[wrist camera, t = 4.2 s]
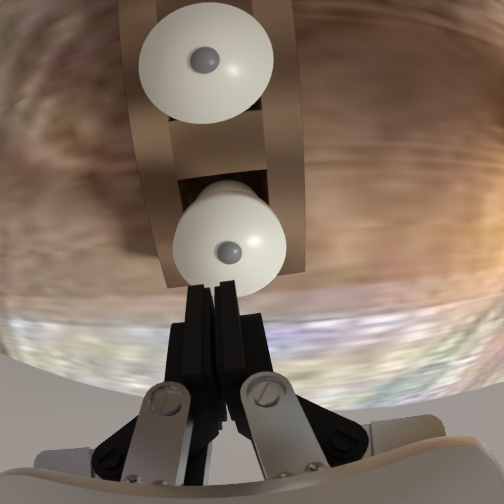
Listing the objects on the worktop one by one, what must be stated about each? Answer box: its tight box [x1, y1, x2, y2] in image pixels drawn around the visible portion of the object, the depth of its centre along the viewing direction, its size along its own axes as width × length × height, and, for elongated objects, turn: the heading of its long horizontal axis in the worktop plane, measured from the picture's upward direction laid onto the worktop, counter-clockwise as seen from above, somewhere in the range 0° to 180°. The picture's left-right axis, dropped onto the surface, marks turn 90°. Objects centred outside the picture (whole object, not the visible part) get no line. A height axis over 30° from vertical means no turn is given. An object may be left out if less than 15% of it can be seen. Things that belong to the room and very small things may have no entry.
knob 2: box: [173, 180, 286, 297], centre depth 17 cm, size 6×6×5 cm
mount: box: [118, 0, 305, 288], centre depth 16 cm, size 28×10×4 cm, turn 5°
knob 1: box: [139, 2, 274, 124], centre depth 12 cm, size 6×6×5 cm
